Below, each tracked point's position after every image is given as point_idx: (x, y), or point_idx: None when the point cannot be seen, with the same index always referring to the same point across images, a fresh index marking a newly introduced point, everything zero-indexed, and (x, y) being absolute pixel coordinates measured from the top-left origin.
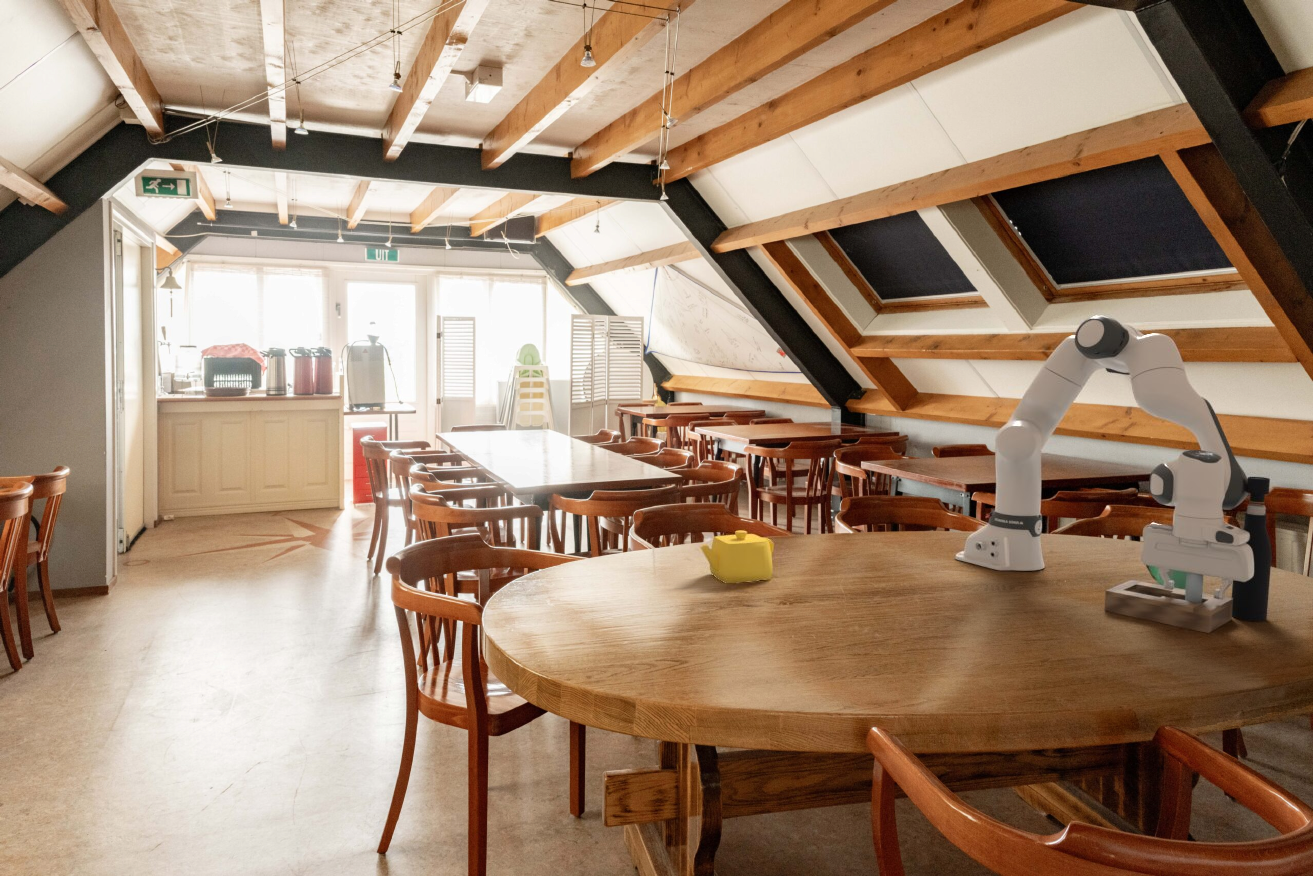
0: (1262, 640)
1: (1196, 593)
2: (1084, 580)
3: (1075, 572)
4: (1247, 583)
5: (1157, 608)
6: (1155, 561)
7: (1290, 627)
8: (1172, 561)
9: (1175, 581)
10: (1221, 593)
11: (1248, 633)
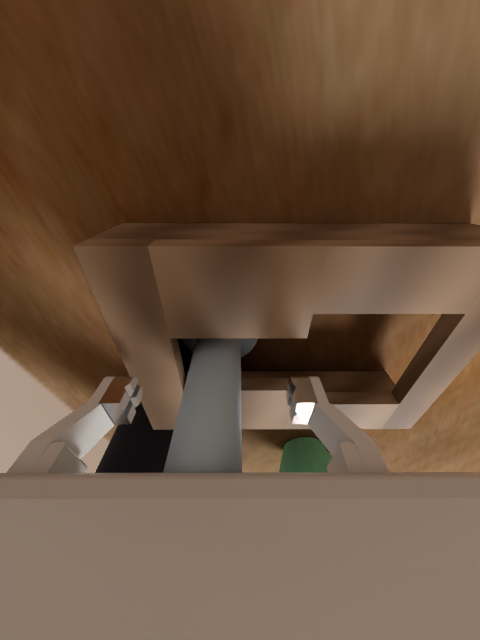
0: (11, 274)
1: (193, 376)
2: (468, 430)
3: (475, 454)
4: None
5: (302, 236)
6: (446, 519)
7: (82, 402)
8: (333, 552)
9: (308, 468)
10: (93, 394)
11: (78, 311)
